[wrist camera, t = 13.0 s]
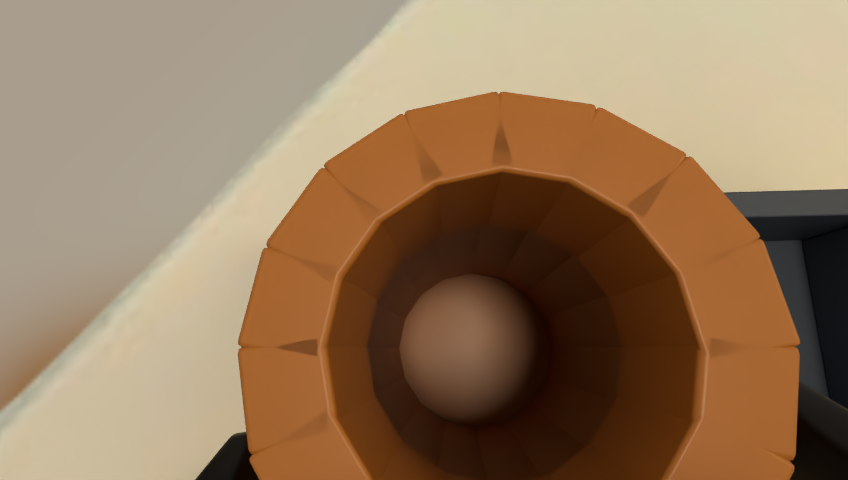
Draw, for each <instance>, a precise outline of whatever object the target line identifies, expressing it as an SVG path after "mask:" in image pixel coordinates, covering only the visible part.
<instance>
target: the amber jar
mask: <svg viewBox="0 0 848 480" xmlns="http://www.w3.org/2000/svg"><path fill="white" fill-rule="evenodd" d="M324 167H325V169H324V168H321V169H320V170H319V171H318V172H317V173H316V175H315V176H314V178H313V179H312V180H311V182H310V183H309V184H308V186H307V187H306V189H305V190H304V191H303V193H302V194H301V195H300V197H299V198H298V200H297V201H296V202H295V204H294V205H293V206H292V208H291V209H290V211H289V212H288V213H287V215H286V216H285V217H284V219H283V220H282V222H281V223H280V224H279V226H278V227H277V228H276V230H275V231H274V232H273V234H272V235H271V237H270V238H269V239H268V241H267V247H268V248H264V249H263V251H262V254H261V257H260V261H259V265H258V269H257V272H256V276H255V280H254V284H253V287H252V291H251V295H250V299H249V302H248V306H247V310H246V313H245V317H244V321H243V325H242V328H241V332H240V336H239V340H238V344H239V345H240V346H241V347H242V348H240V349H239V352H238V360H239V369H240V378H241V387H242V396H243V405H244V414H245V423H246V432H247V441H248V449H249V451H250V454H253V455H252V456H251V457H250V463H251V465H252V467H253V469H254V471H255V472H256V474H257V476H258V478H259V480H790V478H791V476H792V474H793V472H794V467H795V466H794V465H793V464H792V463H791V462H790V460H793V459H794V457H795V455H796V436H797V412H798V387H799V363H800V354H799V351H798V349H797V348H795V347H796V346H797V345H799V344H800V339H799V336H798V333H797V331H796V328H795V325H794V322H793V320H792V317H791V314H790V312H789V309H788V306H787V303H786V301H785V298H784V295H783V293H782V290H781V287H780V284H779V282H778V279H777V276H776V274H775V271H774V268H773V265H772V263H771V260H770V257H769V254H768V252H767V249H766V246H765V244H764V242H763V241H762V240H761V239H759V237H760V235H759V233H758V232H757V231H756V229H755V228H754V227H753V226H752V225H751V224H750V223H749V221H748V220H747V219H746V218H745V217H744V216H743V215H742V214H741V212H740V211H739V210H738V209H737V208H736V207H735V206H734V204H733V203H732V202H731V201H730V200H729V199H728V198H727V196H726V195H725V194H724V193H723V192H722V191H721V190H720V188H719V187H718V186H717V185H716V184H715V183H714V182H713V181H712V179H711V178H710V177H709V176H708V175H707V174H706V173H705V171H704V170H703V169H702V168H701V167H700V166H699V165H698V163H697V162H696V161H695V160H694V159H693V158H692V157H686V154H685V153H684V152H683V151H681V150H679V149H677V148H675V147H673V146H671V145H670V144H668V143H666V142H664V141H662V140H660V139H658V138H657V137H655V136H653V135H651V134H649V133H647V132H646V131H644V130H642V129H640V128H638V127H636V126H634V125H633V124H631V123H629V122H627V121H625V120H623V119H621V118H620V117H618V116H616V115H614V114H612V113H610V112H608V111H607V110H605V109H603V108H597V109H596V107H595V106H594V105H592V104H585V103H578V102H571V101H564V100H557V99H550V98H543V97H536V96H529V95H522V94H515V93H508V92H500V93H499V94H498V93H497V92H491V93H487V94H482V95H478V96H473V97H468V98H464V99H459V100H455V101H450V102H445V103H441V104H436V105H432V106H427V107H423V108H418V109H413V110H409V111H406V112H405V115H403V114H400V115H398V116H397V117H395V118H393V119H392V120H390V121H389V122H387V123H386V124H384V125H383V126H381V127H380V128H378V129H376V130H375V131H373V132H372V133H370V134H369V135H367V136H366V137H364V138H363V139H361V140H360V141H358V142H356V143H355V144H353V145H352V146H350V147H349V148H347V149H346V150H344V151H343V152H341V153H339V154H338V155H336V156H335V157H333V158H332V159H330V160H329V161H327V162H326V163H325V164H324Z"/></svg>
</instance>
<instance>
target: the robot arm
mask: <svg viewBox="0 0 848 480" xmlns="http://www.w3.org/2000/svg"><path fill="white" fill-rule="evenodd" d="M252 455H253V454H250V451H249V449H248V441H247V432H242V433H236V434H234V435H232V436H231V437H230V438H229V439H228V441H227V442H226V443H225V444H224V445H223V447H222V448H221V449H220V450H219V451H218V453H217V454H216V455H215V456H214V458H213V459H212V460H211V461H210V462H209V464H208V465H207V466H206V467H205V469H204V470H203V471H202V472H201V473H200V475H199V476H198V477H197V478H196V479H195V480H259V478H258V476H257V474H256V472H255V471H254V469H253V467H252V465H251V463H250V457H251V456H252ZM790 462H791V463H792V464H793V465H794V466H795V467H794V472H793V474H792V476H791V478H790V480H848V409H847V408H845V407H843V406H842V405H840V404H838V403H836V402H835V401H833V400H831V399H830V398H828V397H826V396H824V395H823V394H821V393H819V392H817V391H816V390H814V389H812V388H810V387H809V386H807V385H805V384H804V383H802V382H800V381H799V387H798V412H797V436H796V455H795V457H794V459H793V460H790Z"/></svg>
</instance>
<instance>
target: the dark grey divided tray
mask: <svg viewBox="0 0 848 480" xmlns="http://www.w3.org/2000/svg"><path fill="white" fill-rule="evenodd" d="M724 194H725V195H726V196H727V198H728V199H729V200H730V201H731V202H732V203H733V204H734V206H735V207H736V208H737V209H738V210H739V211H740V212H741V214H742V215H743V216H744V217H745V218H746V219H747V220H748V221H749V223H750V224H751V225H752V226H753V227H754V228H755V229H756V231H757V232H758V233H759V235H760V237H759V239H761V240H762V241H763V242H764V244H765V246H766V249H767V252H768V254H769V257H770V260H771V263H772V265H773V268H774V271H775V274H776V276H777V279H778V282H779V284H780V287H781V290H782V293H783V295H784V298H785V301H786V303H787V306H788V309H789V312H790V314H791V317H792V320H793V322H794V325H795V328H796V331H797V333H798V336H799V339H800V344H799V345H797V346H796V347H795V348H797V349H798V351H799V354H800V363H799V381H800V382H802V383H804V384H805V385H807V386H809V387H810V388H812V389H814V390H816V391H817V392H819V393H821V394H823V395H824V396H826V397H828V398H830V399H831V400H833V401H835V402H836V403H838V404H840V405H842V406H843V407H845V408H847V409H848V189H836V190H800V191H763V192H727V193H724Z"/></svg>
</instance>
